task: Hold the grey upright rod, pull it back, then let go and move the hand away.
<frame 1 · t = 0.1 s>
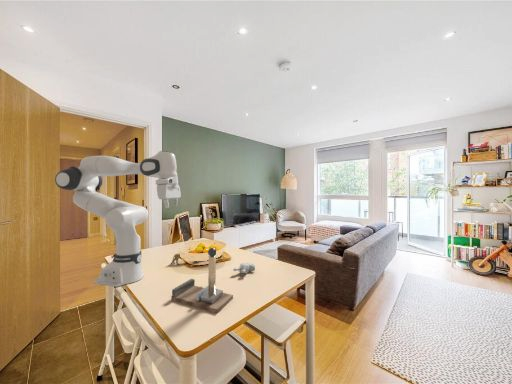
hand: (171, 207, 107), 39 cm above the table, tool pointing down, fingers open, 8 cm apart
grey upright rod: (210, 272, 87), point 12 cm above the table, slide at 0.0 cm
press base: (202, 299, 89), on the table
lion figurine: (183, 263, 133), on the table
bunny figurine: (245, 272, 119), on the table
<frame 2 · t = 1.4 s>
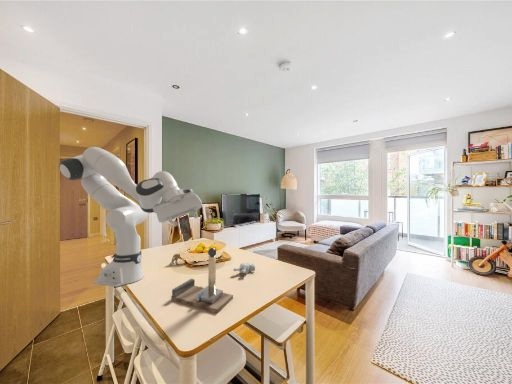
hand: (186, 221, 90), 34 cm above the table, tool tilted 45°, fingers open, 8 cm apart
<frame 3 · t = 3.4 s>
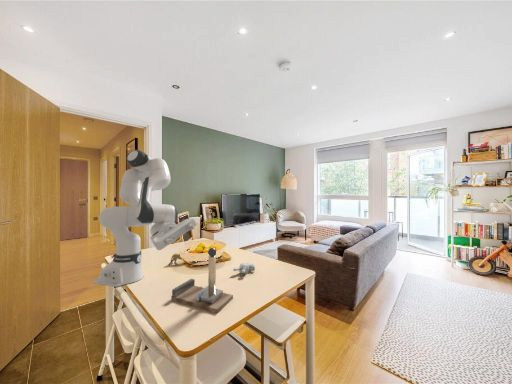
hand: (183, 233, 86), 29 cm above the table, tool horizontal, fingers open, 8 cm apart
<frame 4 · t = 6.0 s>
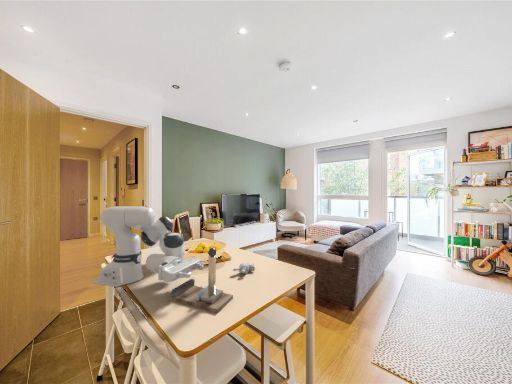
hand: (196, 271, 91), 11 cm above the table, tool horizontal, fingers open, 8 cm apart
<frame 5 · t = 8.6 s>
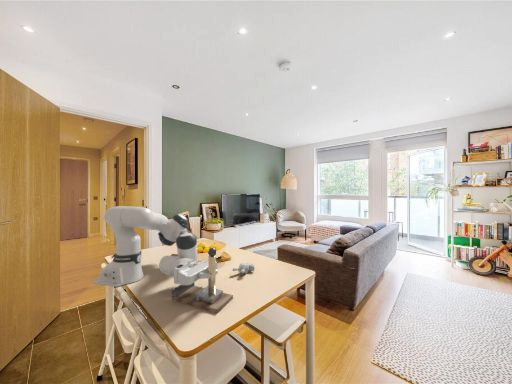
hand: (213, 274, 86), 12 cm above the table, tool horizontal, fingers closed on grey upright rod, 3 cm apart
grey upright rod: (210, 272, 87), point 12 cm above the table, slide at 0.0 cm, touching gripper
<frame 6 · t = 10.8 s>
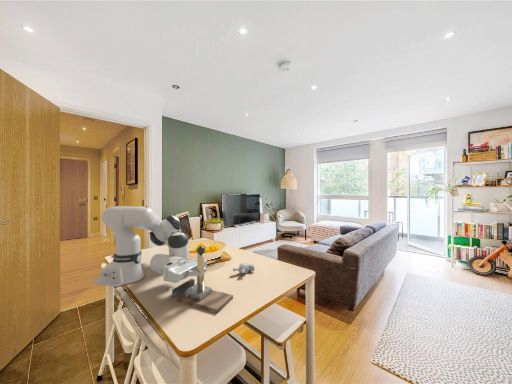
hand: (202, 272, 89), 12 cm above the table, tool horizontal, fingers closed on grey upright rod, 3 cm apart
grey upright rod: (199, 270, 89), point 12 cm above the table, slide at 6.0 cm, touching gripper
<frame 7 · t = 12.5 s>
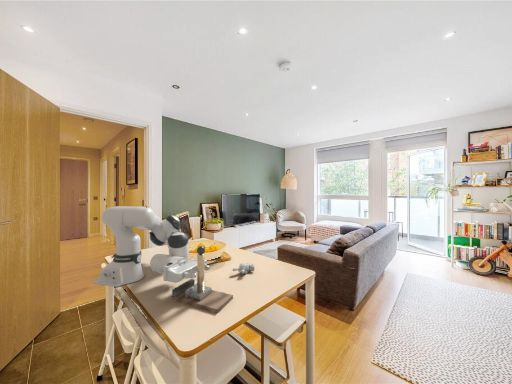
hand: (202, 271, 89), 12 cm above the table, tool horizontal, fingers open, 8 cm apart
grey upright rod: (199, 270, 89), point 12 cm above the table, slide at 6.0 cm
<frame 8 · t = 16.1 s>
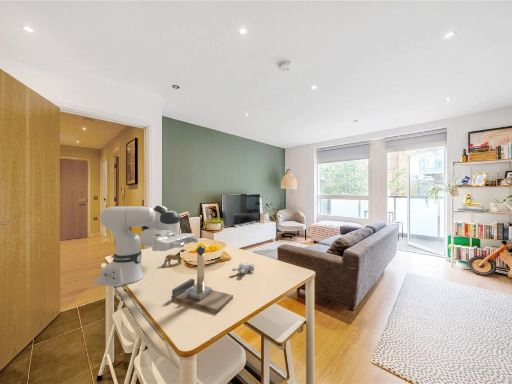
hand: (190, 242, 91), 24 cm above the table, tool horizontal, fingers open, 8 cm apart
at the end: grey upright rod slide at 6.0 cm; the gripper is holding nothing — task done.
